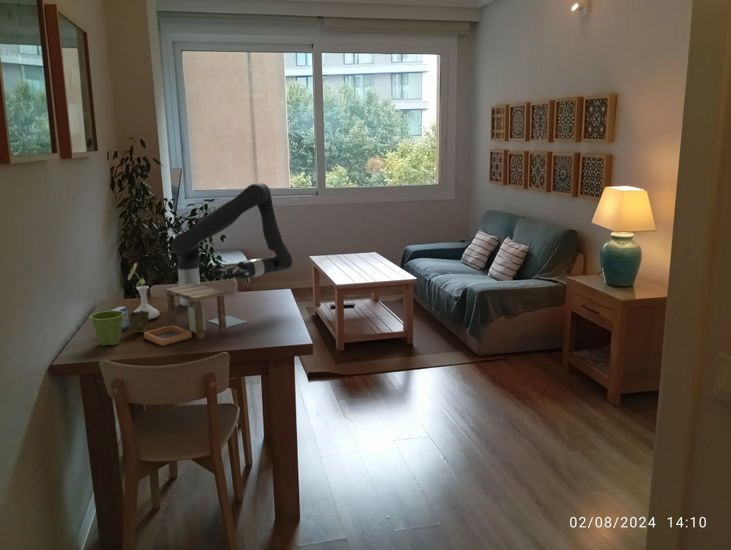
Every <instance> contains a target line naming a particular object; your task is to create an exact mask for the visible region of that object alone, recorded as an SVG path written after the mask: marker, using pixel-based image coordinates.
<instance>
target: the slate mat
mask: <svg viewBox="0 0 731 550" xmlns="http://www.w3.org/2000/svg"><path fill="white" fill-rule="evenodd" d="M225 318H226V327H227V328H226V329H229V328H228V327H230V328H232V327H231V326H233V327H236V326H235V325H237V326H239V325H238V324H241V325H243V324H242V323H244V324H247V323H246V322H248V321H247V320H244V319H241V318H237V317H234V316H231V315H225ZM210 322H211V323H210ZM207 323H210V324H213V323H214V324H213V325H216V324H217V326H219V322H218V317H217V318H214V319H209V320H207Z"/></svg>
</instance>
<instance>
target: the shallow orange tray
mask: <svg viewBox="0 0 731 550" xmlns="http://www.w3.org/2000/svg"><path fill="white" fill-rule="evenodd" d="M192 336H193V335H192V331H190V330H187V329H184V328H181V327H178V326H177V327H176V326H173V325H171V326H170V325H167V326H164V327H160V328H156V329H152V330H148V331H145V332H143V339H144V338H145V339H144V340H146V339H147V341H149V340H150V341H149V342H151V341H152V342H151V343H153V342H154V344H157V345H158V346H161V347H165V346H170V345H173V344H177V343H180V342H184V341H187V340H191V339H192V338H193V337H192ZM190 338H191V339H190ZM186 339H187V340H186ZM183 340H184V341H183ZM179 341H180V342H179ZM176 342H177V343H176Z"/></svg>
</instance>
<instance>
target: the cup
mask: <svg viewBox="0 0 731 550" xmlns="http://www.w3.org/2000/svg"><path fill="white" fill-rule="evenodd" d="M148 314H149V312H148V311H147V312H146V311H145V312H144V311H140V312H139V313H138V312H136V313H135V312H134V311H131V312H129V314H128V318H129V324H130V326H131V327H132V329H133V330H135V333H136V332H137V334H143V333H144V332H146V328H147V327H148V325H149V320H148ZM142 332H143V333H142Z"/></svg>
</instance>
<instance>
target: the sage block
mask: <svg viewBox="0 0 731 550" xmlns="http://www.w3.org/2000/svg"><path fill="white" fill-rule="evenodd" d="M187 313H188V314H187V316H188V324H189V331H190V330H191V331H190V332H192V331H193V333H195V332H196V323H195V312H194V305H192V306H187ZM205 314H206V313H205V306H204V305H202V317H203V328H204V330H205V331H207V327H206V325H207V323H206V315H205Z"/></svg>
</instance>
